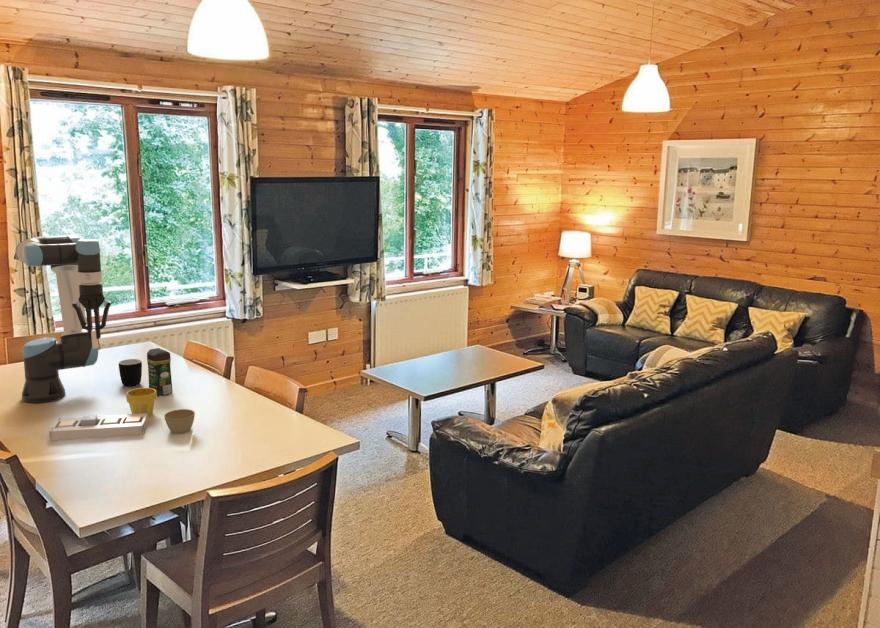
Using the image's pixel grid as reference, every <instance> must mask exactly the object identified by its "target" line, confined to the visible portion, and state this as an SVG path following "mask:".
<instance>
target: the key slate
mask: <svg viewBox="0 0 880 628" xmlns="http://www.w3.org/2000/svg"><path fill="white" fill-rule="evenodd" d="M97 416H98V415H97V414H96V415H95V414H93V415H92V414H91V415H83V416H81V417H82V419H81V420H80V421H81V426H92V425H96V424H97V422H98V419H97Z"/></svg>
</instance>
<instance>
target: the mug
mask: <svg viewBox="0 0 880 628" xmlns="http://www.w3.org/2000/svg"><path fill="white" fill-rule="evenodd" d="M142 370H143V362H142V360H141V359H138V358H128V359H122V360H119V362H118V371H119V376H120V380H121V384H122V386H123V387H126V388H131V387H137V386H140V384H141V382H142V376H143V375H142V374H143V371H142Z"/></svg>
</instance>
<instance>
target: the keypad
mask: <svg viewBox="0 0 880 628" xmlns="http://www.w3.org/2000/svg"><path fill="white" fill-rule="evenodd" d="M140 416H141V422H140V423H125V421H126V419H127V417H140ZM82 417H83V416H79V417H77V416H76V417H61V418H60V417H59V418H58V419H57V420H56V422H55V423H54V424H53V425H52V427H51V428H50V430H49V431H48V436H49V441H50V442H51V441H53V442H56V441H65V440H66V441H67V440H82V439H97V438H111V437H129V436H141V435H142V436H143V435H144V433H145V431H146V429H147V426H148V423H149V416H148V413H141V414H132V413H128V414H111V415H110V414H109V415H97V419H98V422H97V424H96V425H92V426H81V421H80V420H81V419H82ZM108 418H119V422H120V424H108V425H103V422H104V421H105V419H108ZM75 420H76V426H75V427H60V428H58V425H59V424H60V423H61V421H75Z"/></svg>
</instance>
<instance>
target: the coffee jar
mask: <svg viewBox="0 0 880 628" xmlns="http://www.w3.org/2000/svg"><path fill="white" fill-rule="evenodd" d="M171 358H172V357H171V353H170V352H169V351H167V350H165V349H162V348H159V347H157V348H151V349H149V350H148V351H147V353H146V361H147V368H148V369H147V371H148V388H153V389H155V390H156V392H157V397H165V396H168V395H171V394H173V391H174V390H173V382H172V380H173V379H172V371H171V360H172V359H171Z"/></svg>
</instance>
